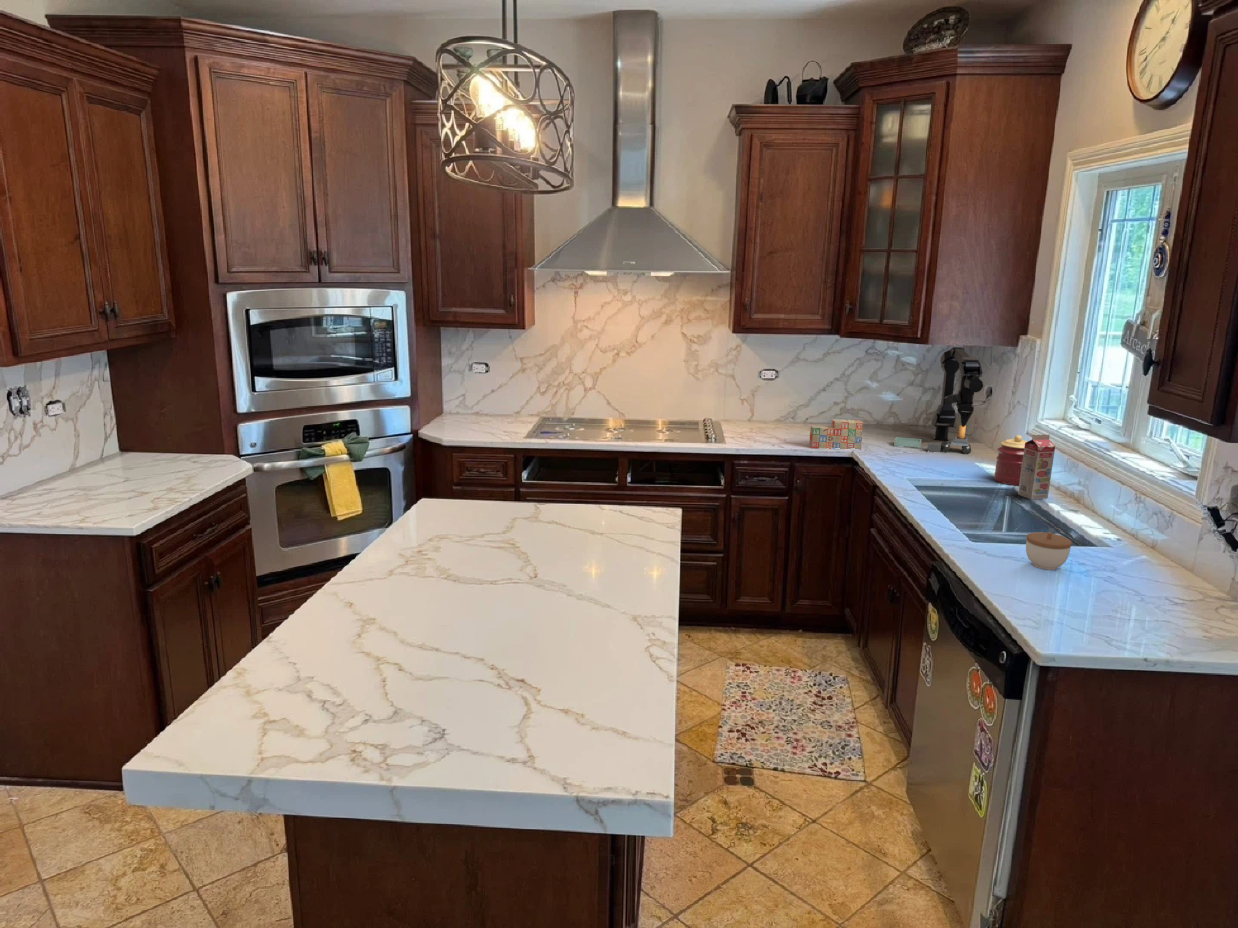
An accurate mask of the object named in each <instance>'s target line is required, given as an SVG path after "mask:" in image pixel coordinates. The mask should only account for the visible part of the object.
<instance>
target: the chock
mask: <svg viewBox="0 0 1238 928" xmlns="http://www.w3.org/2000/svg"><path fill="white" fill-rule="evenodd" d="M941 443H942V442H940V443H939V442H928V444H927V452H928V451H929V452H928V453H934V452H940V453H941Z"/></svg>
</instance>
